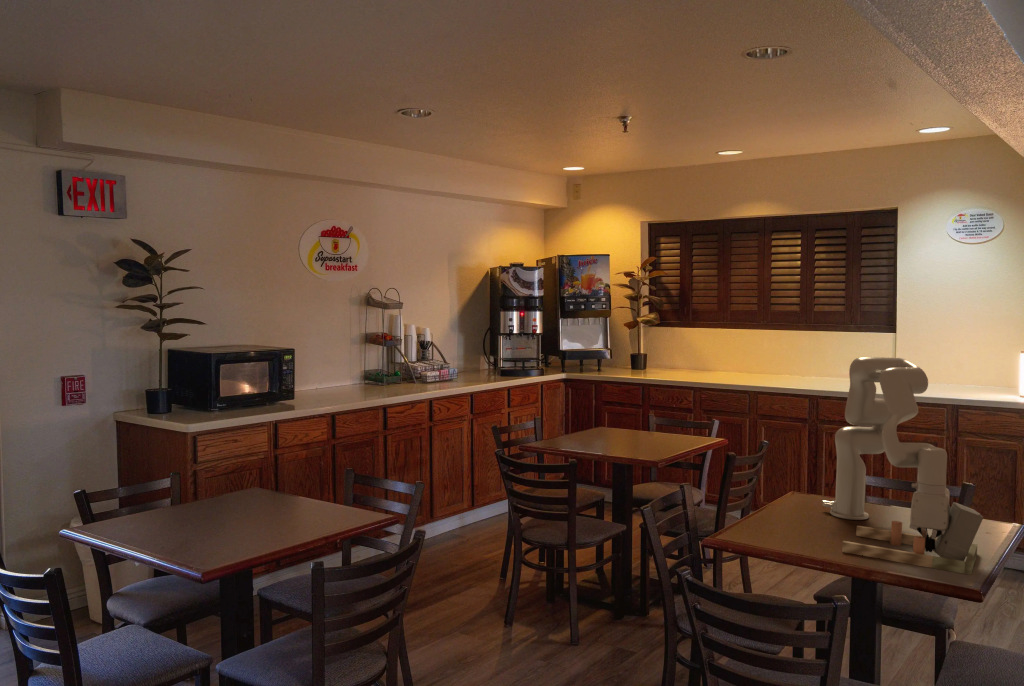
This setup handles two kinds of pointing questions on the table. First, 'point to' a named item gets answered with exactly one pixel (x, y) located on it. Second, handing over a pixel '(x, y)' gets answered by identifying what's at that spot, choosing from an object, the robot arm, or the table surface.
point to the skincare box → (958, 533)
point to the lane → (907, 556)
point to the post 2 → (919, 545)
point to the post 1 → (896, 533)
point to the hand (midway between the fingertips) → (928, 550)
